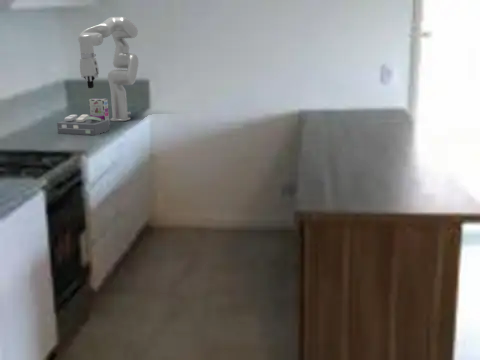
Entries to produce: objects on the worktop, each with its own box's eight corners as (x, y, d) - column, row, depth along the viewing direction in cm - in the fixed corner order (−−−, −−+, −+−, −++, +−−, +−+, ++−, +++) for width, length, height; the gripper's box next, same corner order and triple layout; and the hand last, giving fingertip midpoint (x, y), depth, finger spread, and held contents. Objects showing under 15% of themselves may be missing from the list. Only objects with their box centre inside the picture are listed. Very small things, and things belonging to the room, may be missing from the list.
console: (72, 128, 419) (71, 117, 418) (109, 130, 410) (108, 119, 408) (57, 133, 407) (56, 121, 405) (95, 135, 397) (94, 123, 395)
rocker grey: (71, 117, 413) (71, 114, 413) (77, 117, 412) (77, 114, 411) (64, 120, 407) (64, 118, 407) (71, 121, 406) (70, 118, 405)
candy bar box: (110, 125, 425) (108, 98, 421) (105, 127, 421) (103, 100, 417) (95, 124, 430) (93, 98, 426) (90, 126, 426) (88, 99, 422)
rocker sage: (94, 121, 407) (94, 118, 407) (100, 121, 406) (101, 118, 406) (87, 119, 401) (87, 116, 401) (93, 119, 399) (94, 116, 399)
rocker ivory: (82, 116, 410) (82, 114, 409) (89, 117, 408) (88, 114, 408) (76, 121, 405) (75, 119, 404) (82, 122, 403) (82, 119, 402)
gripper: (102, 55, 403) (105, 87, 409) (80, 55, 408) (83, 86, 414) (95, 57, 397) (98, 89, 402) (72, 57, 402) (76, 88, 407)
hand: (90, 87), depth 408 cm, fingers closed
